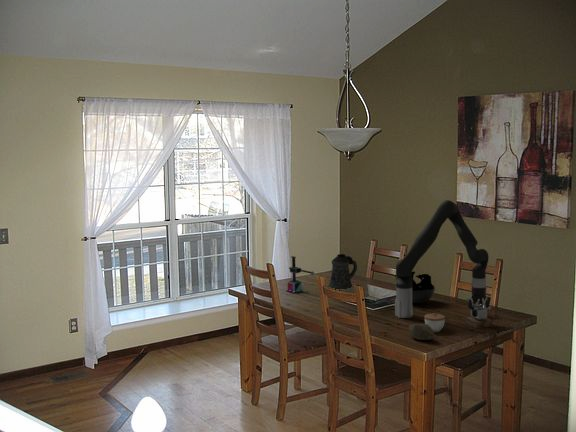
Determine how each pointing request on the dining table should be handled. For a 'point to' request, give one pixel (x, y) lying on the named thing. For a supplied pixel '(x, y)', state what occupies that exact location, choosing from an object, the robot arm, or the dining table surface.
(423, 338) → the stone
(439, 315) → the lidded jar
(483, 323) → the stand
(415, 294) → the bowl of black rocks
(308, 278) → the dining table surface
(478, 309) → the housing
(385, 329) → the dining table surface
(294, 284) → the magnetic base gauge holder
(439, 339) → the dining table surface
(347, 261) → the beer stein
